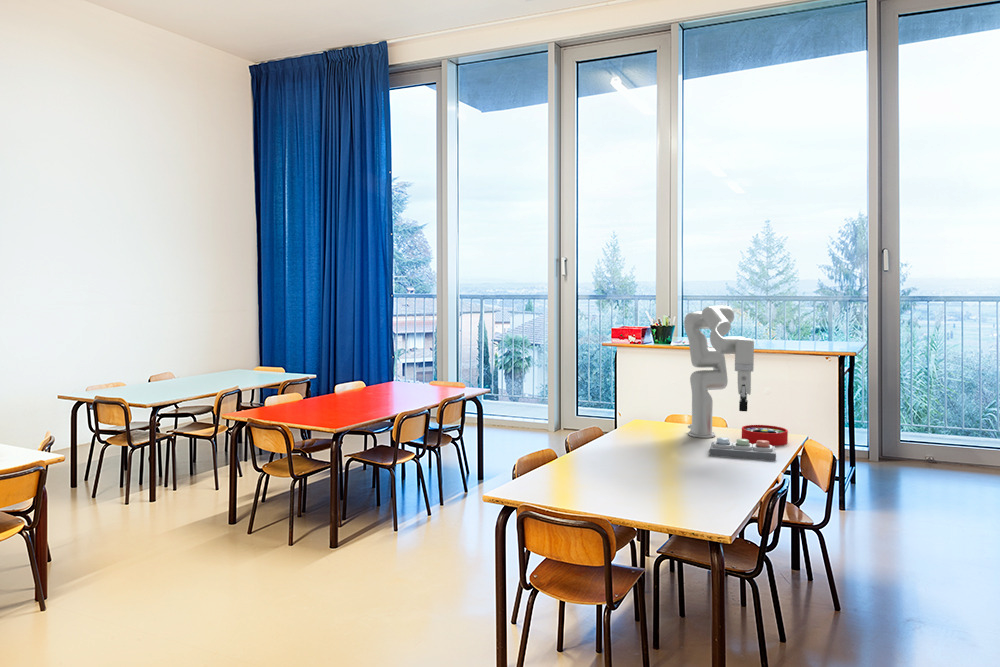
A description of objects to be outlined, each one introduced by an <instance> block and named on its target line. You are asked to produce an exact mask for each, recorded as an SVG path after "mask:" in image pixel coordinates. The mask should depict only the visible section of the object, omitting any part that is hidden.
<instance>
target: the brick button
mask: <svg viewBox="0 0 1000 667" xmlns="http://www.w3.org/2000/svg"><path fill="white" fill-rule="evenodd" d="M756 446H758V447H769V441H765V440H757V443H756Z"/></svg>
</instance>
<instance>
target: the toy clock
mask: <svg viewBox="0 0 1000 667" xmlns="http://www.w3.org/2000/svg"><path fill="white" fill-rule="evenodd" d="M788 436H789V430H788V429H786V428H784V427H781V426H776V425H767V424H749V425H748V424H747V425H743V426H742V427H741V439H747V440H749V443H751V444H752V445H753V444H756V443H757V440H765V441H769V445H772V446H775V447H776V446H777V447H779V446H785V445H787V444H788V442H789V441H788V440H789V439H788Z"/></svg>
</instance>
